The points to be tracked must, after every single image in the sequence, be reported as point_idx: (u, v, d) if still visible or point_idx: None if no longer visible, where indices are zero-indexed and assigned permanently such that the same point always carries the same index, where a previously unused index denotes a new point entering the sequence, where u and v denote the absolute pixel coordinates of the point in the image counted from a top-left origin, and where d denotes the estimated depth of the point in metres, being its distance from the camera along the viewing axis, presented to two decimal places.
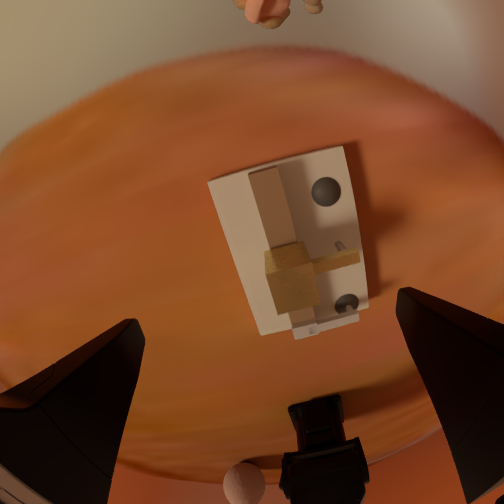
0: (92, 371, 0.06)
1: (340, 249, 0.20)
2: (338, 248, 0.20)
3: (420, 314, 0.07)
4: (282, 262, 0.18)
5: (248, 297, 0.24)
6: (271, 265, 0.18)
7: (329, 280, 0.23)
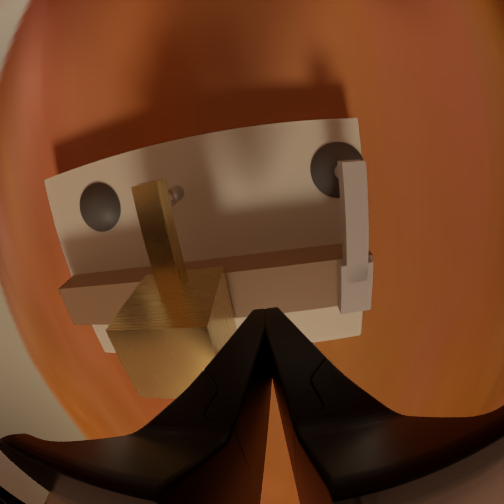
0: (258, 372, 0.06)
1: None
2: None
3: (266, 340, 0.07)
4: None
5: None
6: None
7: (268, 206, 0.11)
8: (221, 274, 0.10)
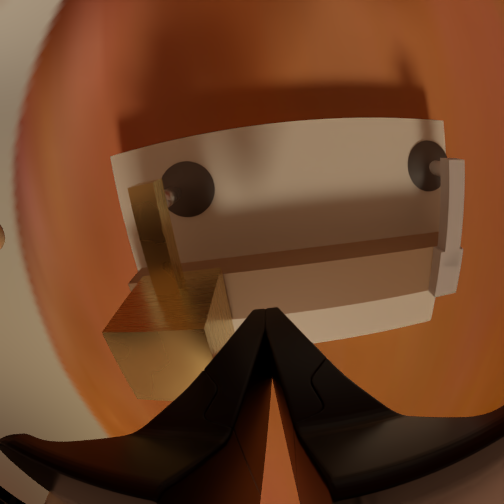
0: (257, 372, 0.06)
1: None
2: None
3: (266, 340, 0.07)
4: None
5: (360, 333, 0.13)
6: None
7: (371, 196, 0.11)
8: (218, 275, 0.09)
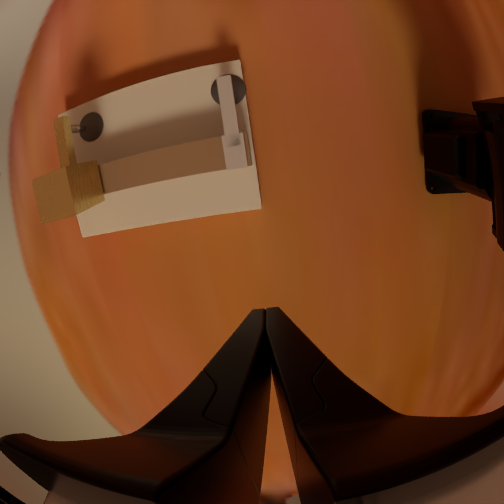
0: (257, 372, 0.06)
1: None
2: (73, 132, 0.15)
3: (267, 340, 0.07)
4: None
5: (198, 215, 0.19)
6: None
7: (186, 115, 0.17)
8: None
